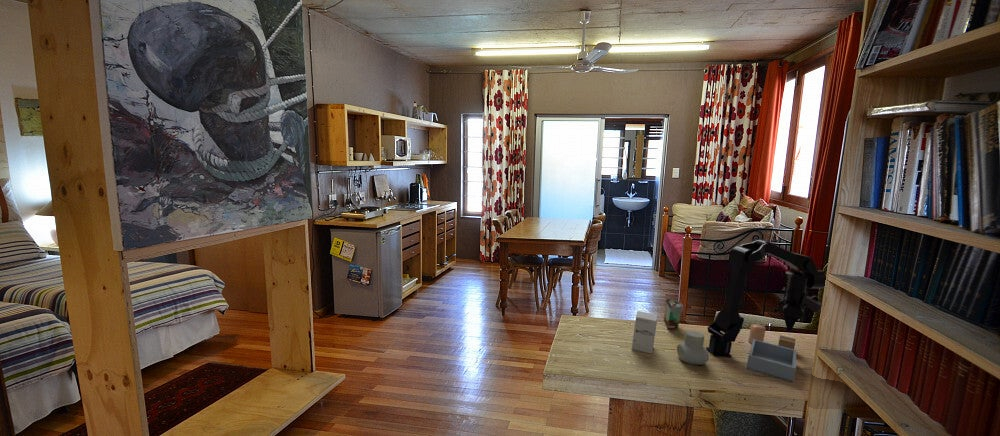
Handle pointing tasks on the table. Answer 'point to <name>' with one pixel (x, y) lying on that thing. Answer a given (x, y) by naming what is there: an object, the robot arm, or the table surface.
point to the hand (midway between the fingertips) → (789, 327)
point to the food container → (672, 313)
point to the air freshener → (693, 349)
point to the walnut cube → (786, 342)
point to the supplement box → (644, 332)
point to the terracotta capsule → (756, 333)
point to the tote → (772, 360)
